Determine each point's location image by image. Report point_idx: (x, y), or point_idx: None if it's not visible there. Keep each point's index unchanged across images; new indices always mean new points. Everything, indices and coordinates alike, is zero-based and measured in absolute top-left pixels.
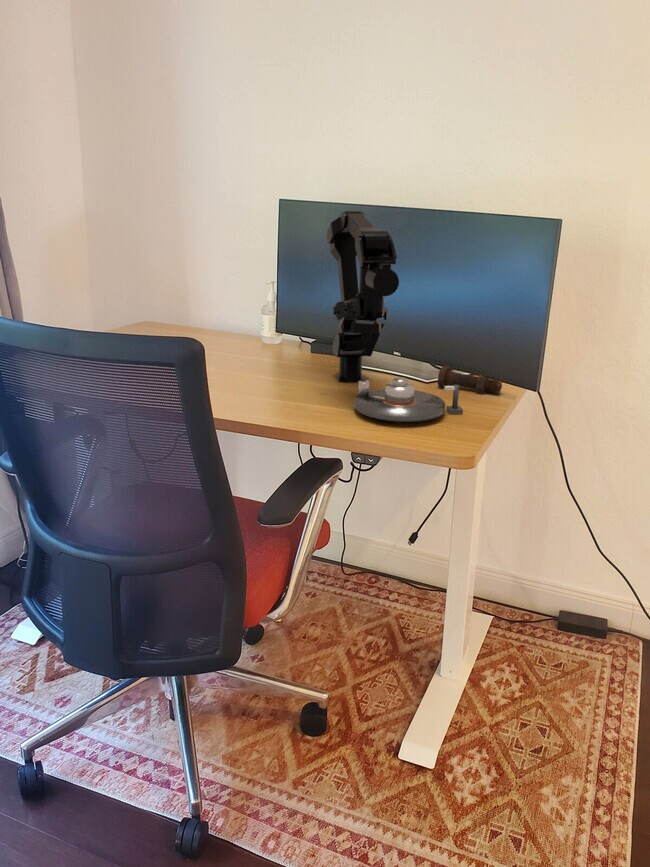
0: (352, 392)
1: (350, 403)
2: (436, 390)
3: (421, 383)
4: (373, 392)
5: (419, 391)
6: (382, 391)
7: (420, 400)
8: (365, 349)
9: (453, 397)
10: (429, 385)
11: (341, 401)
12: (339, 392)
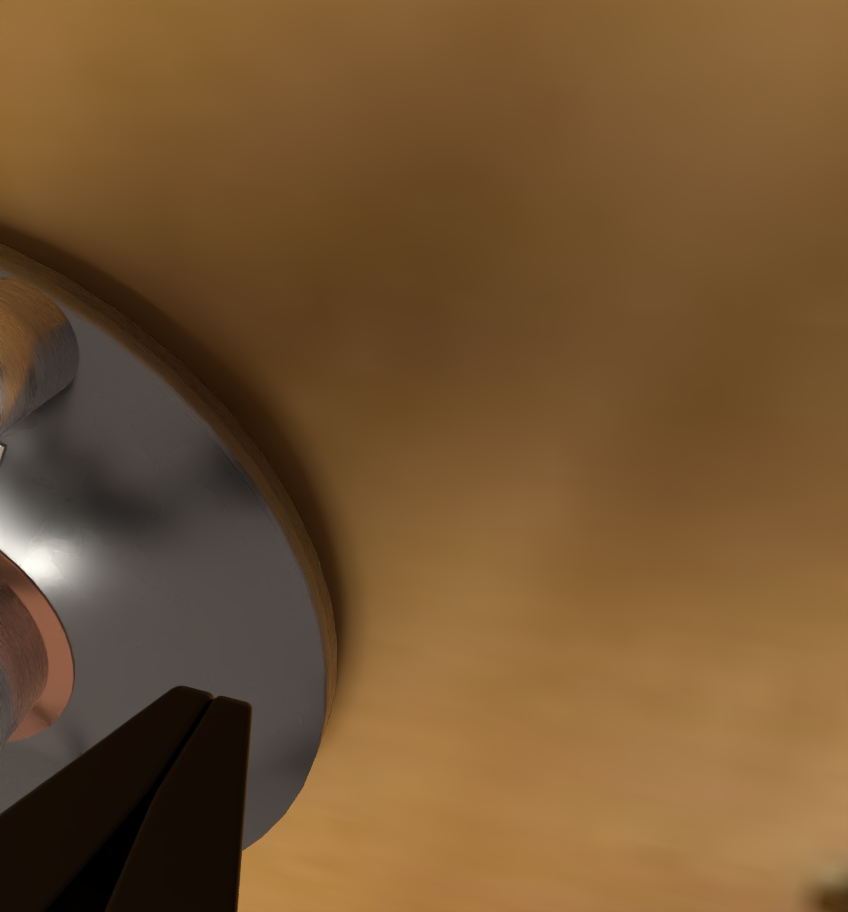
0: (553, 210)
1: (118, 161)
2: (609, 903)
3: (834, 870)
4: (137, 454)
5: (262, 816)
6: (192, 545)
7: (19, 768)
8: (46, 788)
9: None
10: (760, 901)
11: (166, 45)
12: (553, 20)
